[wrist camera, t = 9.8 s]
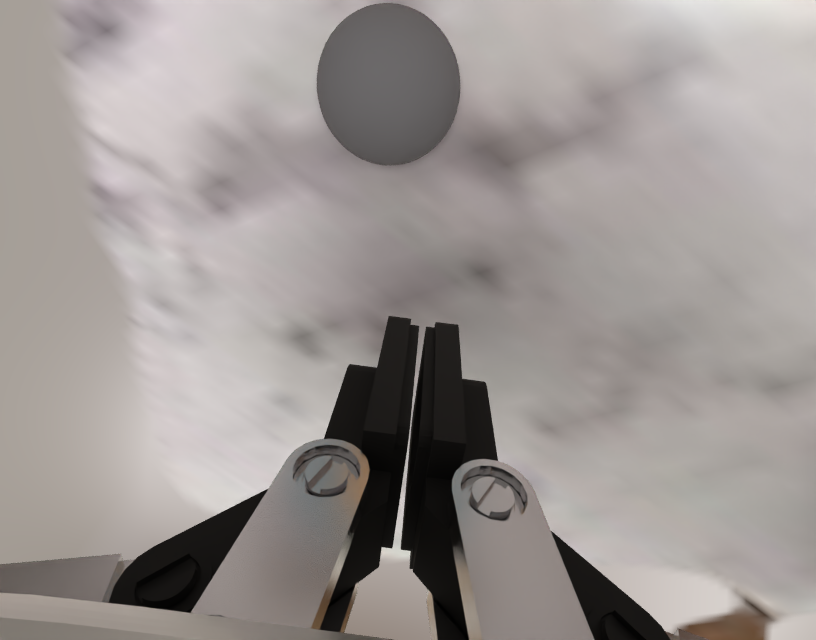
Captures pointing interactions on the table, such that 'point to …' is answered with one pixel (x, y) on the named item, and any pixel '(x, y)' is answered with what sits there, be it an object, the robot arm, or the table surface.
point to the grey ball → (388, 84)
